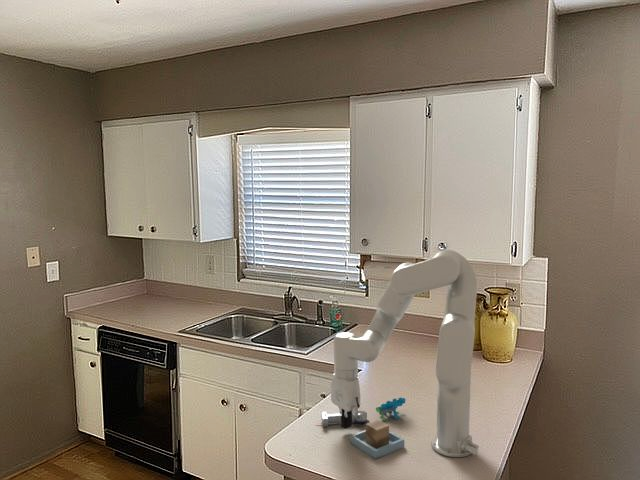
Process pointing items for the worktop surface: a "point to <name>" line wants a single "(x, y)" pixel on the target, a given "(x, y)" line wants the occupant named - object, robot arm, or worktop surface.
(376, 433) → the block
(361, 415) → the lever
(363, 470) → the worktop surface
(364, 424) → the pivot base
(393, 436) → the tray
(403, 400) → the gear
